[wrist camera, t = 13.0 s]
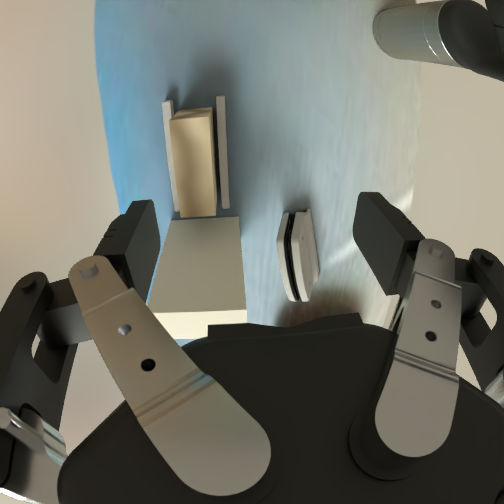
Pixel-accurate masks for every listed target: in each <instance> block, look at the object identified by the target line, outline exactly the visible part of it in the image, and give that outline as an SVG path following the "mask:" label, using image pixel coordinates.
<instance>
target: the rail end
mask: <svg viewBox="0 0 504 504" xmlns="http://www.w3.org/2000/svg"><path fill="white" fill-rule="evenodd" d="M169 127H170V137H171V146H172V155H173V164H174V172H175V180H176V188H177V195H178V202H179V209H180V216H181V218H188V217H203V216H216V204H217V177H216V161H215V145H214V127H213V107H208V108H195V109H184V110H179V111H178V112H177V113H176V114H175V115H174V116H173V117H172V118H171V119H170V120H169Z"/></svg>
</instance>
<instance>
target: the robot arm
mask: <svg viewBox="0 0 504 504" xmlns="http://www.w3.org/2000/svg"><path fill="white" fill-rule="evenodd" d="M485 3H486V7H487V10H486V9H485V8H484V7H483V6H482V5H480V4H479V3H477V2H475V1H472V0H443V1H435V2H427V3H420V4H414V5H408V6H402V7H396V8H391V9H387V10H384V11H381V12H380V13H379V14H378V15H377V16H376V18H375V20H374V22H373V34H374V37H375V40H376V42H377V44H378V45H379V46H380V48H381V49H382V50H383V51H384V52H385V53H386V54H388V55H389V56H391V57H394V58H397V59H405V60H414V61H424V62H430V63H437V64H443V65H450V66H456V67H461V68H466V69H470V70H472V71H474V72H476V73H478V74H481V75H485V76H489V77H492V78H495V79H498V80H500V81H503V82H504V0H485ZM353 237H354V240H355V242H356V244H357V246H358V247H359V249H360V251H361V252H362V254H363V256H364V257H365V259H366V261H367V262H368V264H369V266H370V268H371V269H372V271H373V273H374V275H375V276H376V278H377V280H378V282H379V284H380V285H381V287H382V289H383V291H384V293H385V294H386V296H388V295H396V294H399V295H400V297H399V300H398V302H397V304H396V308H395V311H394V314H393V317H392V320H391V323H390V326H389V329H385V328H383V327H379V326H376V325H371V324H365V323H363V322H362V319H361V317H360V315H359V313H351V314H342V315H333V316H324V317H321V318H318V319H315V320H312V321H309V322H306V323H303V324H300V325H296V326H293V327H289V328H283V327H275V326H267V325H259V324H251V323H235V324H213V325H208V334H207V336H206V337H203V338H200V339H197V340H194V341H192V342H189V343H187V344H185V345H183V346H182V347H180V346H179V345H178V344H177V343H176V341H175V340H174V339H173V338H172V337H171V335H170V334H169V333H168V332H167V330H166V329H165V328H164V327H163V326H162V324H161V323H160V322H159V320H158V319H157V318H156V317H155V315H154V314H153V313H152V312H151V310H150V309H149V308H148V306H147V305H146V304H145V303H146V299H147V295H148V291H149V288H150V284H151V280H152V276H153V273H154V269H155V265H156V262H157V258H158V255H159V251H160V234H159V229H158V224H157V219H156V213H155V208H154V203H153V201H152V200H151V199H150V200H140V201H133V202H132V203H131V205H130V206H129V208H128V210H127V211H126V213H125V214H122V215H120V216H118V217H117V218H116V219H115V220H114V221H112V223H111V224H110V226H109V228H108V229H107V231H106V233H105V234H104V238H102V240H101V241H100V243H99V245H98V247H97V249H96V251H95V252H94V254H93V256H90V257H87V258H84V259H82V260H80V261H79V262H77V263H76V264H75V265H74V266H73V267H72V268H71V269H70V271H69V274H68V278H66V279H63V280H59V281H56V282H53V283H49V281H48V279H47V277H46V275H45V274H44V273H42V272H33V273H30V274H28V275H26V276H24V277H23V278H21V279H20V280H19V281H18V282H17V283H16V285H15V286H14V288H13V289H12V291H11V293H10V295H9V297H8V298H7V300H6V302H5V304H4V306H3V308H2V310H1V312H0V493H2V494H4V495H7V496H9V497H11V498H14V499H17V500H22V501H25V502H27V503H30V504H504V266H503V264H502V263H501V262H500V261H499V259H498V258H497V257H496V256H495V255H493V254H492V253H490V252H488V251H486V250H484V249H479V248H477V249H474V250H473V251H472V252H471V255H470V258H469V260H466V259H460V258H455V255H454V252H453V251H452V249H451V248H450V247H448V246H447V245H445V244H444V243H442V242H440V241H438V240H434V239H426V238H425V237H424V236H423V235H422V234H421V232H419V230H418V229H417V228H416V227H415V226H414V225H413V224H412V223H411V221H410V220H409V219H408V218H406V216H405V215H404V214H403V213H402V212H401V210H399V209H398V208H396V207H394V206H393V205H391V204H390V203H389V202H388V201H387V200H386V199H385V198H384V197H383V196H382V195H381V194H380V193H379V192H361V193H360V194H359V196H358V201H357V207H356V213H355V218H354V224H353ZM487 298H488V300H489V301H490V303H491V304H492V305H493V307H494V308H495V310H496V313H497V321H496V324H495V326H494V327H493V329H492V330H491V329H490V328H489V326H488V324H487V323H486V321H485V319H484V318H483V316H482V314H481V313H480V309H481V307H482V306H483V304H484V302H485V300H486V299H487ZM36 334H37V335H38V336H39V338H40V342H39V345H38V348H37V350H36V353H35V356H34V359H33V357H32V350H31V347H32V344H33V341H34V338H35V336H36ZM91 339H93V340H94V342H95V344H96V346H97V348H98V350H99V352H100V354H101V356H102V358H103V360H104V362H105V364H106V366H107V368H108V369H109V371H110V373H111V375H112V377H113V378H114V380H115V382H116V384H117V386H118V387H119V389H120V391H121V392H122V394H123V396H124V398H125V400H124V401H123V402H122V403H121V404H120V405H119V406H118V407H117V408H116V409H115V410H114V411H113V412H112V413H111V414H110V415H109V416H108V417H107V418H106V419H105V420H104V421H103V422H102V423H101V424H100V425H99V426H98V427H97V428H96V429H95V430H94V431H93V432H92V433H91V434H90V435H89V436H88V437H87V438H86V439H85V440H84V441H83V442H82V443H80V445H78V446H77V447H76V448H75V449H74V450H73V451H72V452H71V453H70V454H69V456H68V455H67V453H66V446H65V442H64V439H63V437H62V435H61V434H60V433H59V427H60V421H61V416H62V410H63V405H64V400H65V395H66V391H67V386H68V382H69V377H70V373H71V369H72V365H73V361H74V357H75V354H76V350H77V346H78V343H79V342H83V341H87V340H91ZM459 342H460V344H461V346H462V348H463V350H464V352H465V354H466V357H467V359H468V361H469V363H470V365H471V367H472V370H473V372H474V374H475V376H476V378H477V381H478V383H479V385H480V387H481V390H482V391H481V390H479V389H478V388H476V387H475V386H473V385H472V384H470V383H469V382H468V381H466V380H464V379H463V378H462V377H460V376H459V375H457V374H456V372H455V369H456V361H457V353H458V345H459Z"/></svg>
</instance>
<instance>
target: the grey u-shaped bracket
mask: <svg viewBox="0 0 504 504" xmlns="http://www.w3.org/2000/svg"><path fill="white" fill-rule="evenodd" d="M216 105H217V127H218V147H219V166H220V183H221V199H222V209H225V208H230V207H229V184H228V162H227V139H226V112H225V95H220V96H217V97H216ZM162 110H163V120H164V131H165V140H166V149H167V158H168V166H169V174H170V181H171V189H172V196H173V203H174V209H175V212H176V211H180V209H179V202H178V195H177V188H176V180H175V172H174V164H173V155H172V146H171V137H170V127H169V120H170V119H171V118H172V117H173V116H174V106H173V100H165V101H163V102H162ZM148 308H149V309H150V310H151V312H152V313H153V314H154V315H155V317H156V318H157V319H158V320H159V322H160V323H161V324H162V326H163V327H164V328H165V329H166V330H167V332H168V333H169V334H170V335H171V337H172V338H173V339H191V338H203V337H206V336H207V334H208V325H213V324H235V323H247V309H246V298H245V286H244V274H243V262H242V250H241V238H240V225H239V217H220V218H202V219H186V220H171V222H170V225H169V229H168V232H167V235H166V239H165V242H164V246H163V249H162V253H161V256H160V260H159V264H158V267H157V271H156V275H155V279H154V283H153V287H152V291H151V295H150V299H149V303H148Z"/></svg>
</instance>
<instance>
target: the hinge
mask: <svg viewBox="0 0 504 504" xmlns="http://www.w3.org/2000/svg"><path fill="white" fill-rule="evenodd" d="M277 251H278V259H279V265H280V271H281V275H282V280H283V284H284V287H285V290H286V293H287V296H288V298H289V300H291V301H295V302H296V301H297V300H299V298H300V300H302V301H303V302H304V301H309V300H310V295H311V291H312V286H313V284H314V283H315V282H317V281H318V280H319V275H320V274H319V267H318V259H317V252H316V245H315V238H314V231H313V224H312V218H311V211H310V208H308V209H307V212H306V213H305V212H296V214H294V216H293V221H292V216H291V214H289V212H287V213H284V214H282V218H281V223H280V227H279V231H278V235H277Z"/></svg>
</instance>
